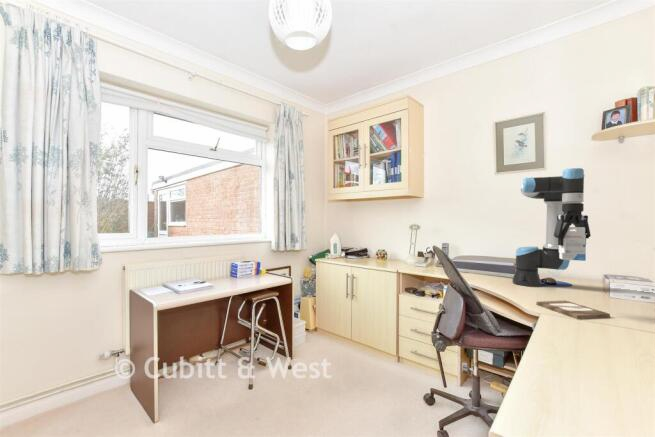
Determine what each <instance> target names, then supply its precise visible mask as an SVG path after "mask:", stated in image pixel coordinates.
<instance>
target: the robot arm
mask: <svg viewBox="0 0 655 437" xmlns="http://www.w3.org/2000/svg"><path fill="white" fill-rule="evenodd" d="M584 183H585V170H584V169H583V168H581V167H573V168H566V169H563V170H562V175H561V176H560V175H559V176H544V177H543V176H542V177H532V176H531V177H525V178H523V179H522V185H521V186H520V193H521V194H522V195H523V196H525V197H526V198H530V199H536V200H539V199H540V200H543V202H544V204H546V219H545V220H546V224H545V225H546V226H545V227H546V228H545V229H546V230H545V237H546V238H545V244H544V245H543V246H542V248H539V246H520V247H517V248H516V249H515V271H514V275H513V277H512V279H511V282H513V284H514V283H515V285H520V286H524V287H541V286H542V280H541V279H540V275H539V269H546V270H556V271H557V270H558V271H559V270H563V271H564V270H567V269H568V268H569V266H570V262H571V260H562V259H560V258H559V255H560V253H566V239H564V237H565V235H566V233H567V231H568V229H569V227H571V226H572V225H573V226H574V227H585V234H586V240H587V239H589V238H591V236H592V235H591V229H590V225H589V221H588V220H589V215H585V214H584V215H583V214H582V212H584V205H585V204H584V194H585V191H584V188H585V184H584ZM576 231H578V230H576Z"/></svg>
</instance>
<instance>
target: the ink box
mask: <svg viewBox="0 0 655 437" xmlns="http://www.w3.org/2000/svg"><path fill="white" fill-rule="evenodd" d="M577 230H578V231H577ZM564 239H566V253H560V255H559V258H560V259H562V260H570V261H580V262H581V261H584V262H585V261H586V258H587V257H586V256H587V255H586V250H587V248H586V245H587V238H586V234H585V227H575V226H570V227H569V229H568V231H567V233H566V235H565V237H564Z"/></svg>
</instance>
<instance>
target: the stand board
mask: <svg viewBox="0 0 655 437" xmlns="http://www.w3.org/2000/svg"><path fill="white" fill-rule="evenodd" d="M535 304H536V305H537V306H539V307H541V308H545V309H547V310H549V311H550V310H551V311H553V312H556V313H558V314H561V315H564V316H567V317H570V318H572V317H573V318H572V319H576V320H585V319H603V318H606V319H607V318H611V313H608V312H606V311H602V310H598V309H595V308H592V307H589V306H585V305H582V304H579V303H575V302H571V301H569V300H565V299H564V300H544V301H536V303H535Z"/></svg>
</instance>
